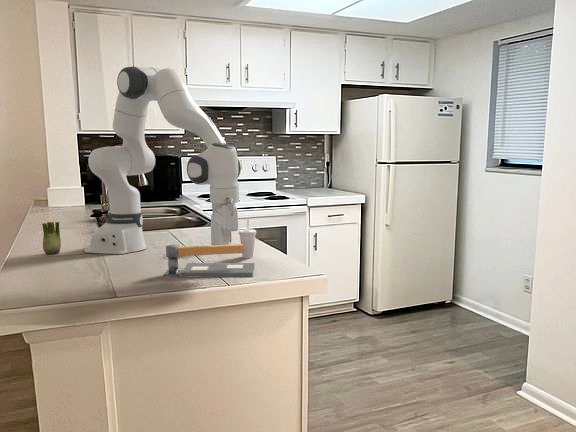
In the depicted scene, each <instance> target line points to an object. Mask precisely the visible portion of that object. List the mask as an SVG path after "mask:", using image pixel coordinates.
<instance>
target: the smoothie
mask: <svg viewBox="0 0 576 432" xmlns="http://www.w3.org/2000/svg"><path fill="white" fill-rule="evenodd" d="M249 220H250V219H249V218H247V219H246V221H247V222H246V223H247V224H246V226H247V227H246V228H245V229H238V235H239V240H240V244H243V253H241V256H242V259H246V260H247V259H253V258H254V252H255V243H256V235H257V229H254V228H253V229H252V228H251V229H250V221H249Z"/></svg>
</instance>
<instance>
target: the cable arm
mask: <svg viewBox="0 0 576 432" xmlns="http://www.w3.org/2000/svg"><path fill="white" fill-rule="evenodd" d="M242 253H243V244H241V243H239V244H237V243H236V244H235V243H234V244H231V245H211V244H209V245H190V246H189V245H187V246H186V245H185V246H180V245H179V244H168V245H166V246H165V257H166V258H168V257H169V258H174V257H178V258H179V257H182V256H183V257H187V256H209V255H230V254H231V255H232V254H242Z"/></svg>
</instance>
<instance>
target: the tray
mask: <svg viewBox="0 0 576 432" xmlns="http://www.w3.org/2000/svg"><path fill="white" fill-rule="evenodd" d="M182 270H183V271H182V272H181V275H180V277H181V278H183V277H184V278H185V277H186V276H187V277H188V276H196V277H201V278H203V277H208V278H209V277H212V278H213V277H214V276H217V278H218V277H221V278H222V277H226V278H227V277H230V278H231V277H253V276H254V271H255V262H192V263H191V262H188V263H187V264H186V265H185V267H184V268H183V269H182ZM187 277H186V278H187Z"/></svg>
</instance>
